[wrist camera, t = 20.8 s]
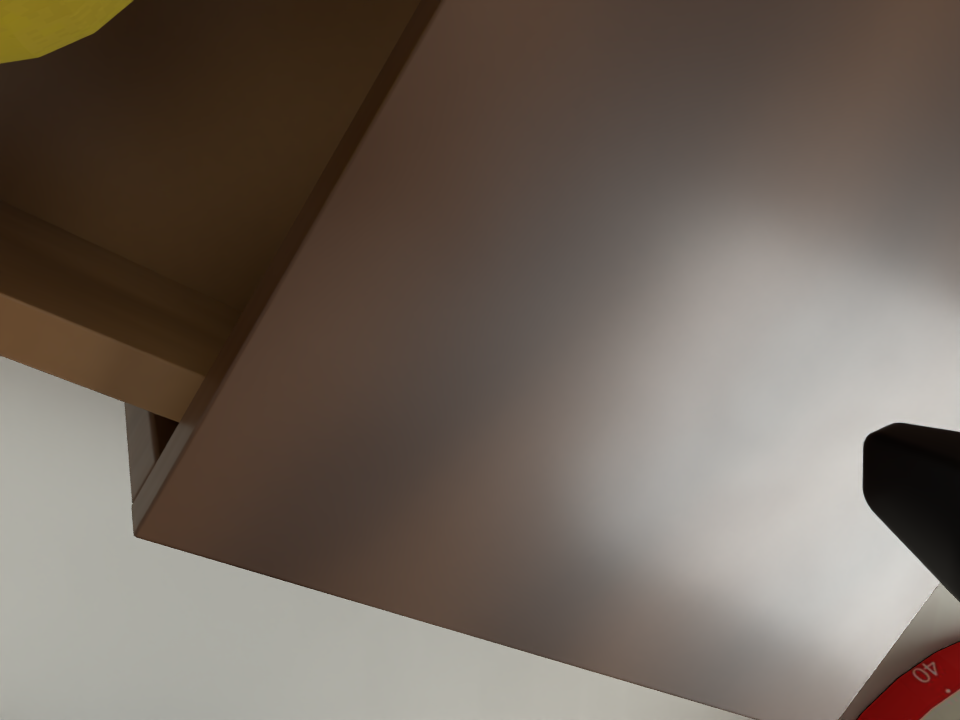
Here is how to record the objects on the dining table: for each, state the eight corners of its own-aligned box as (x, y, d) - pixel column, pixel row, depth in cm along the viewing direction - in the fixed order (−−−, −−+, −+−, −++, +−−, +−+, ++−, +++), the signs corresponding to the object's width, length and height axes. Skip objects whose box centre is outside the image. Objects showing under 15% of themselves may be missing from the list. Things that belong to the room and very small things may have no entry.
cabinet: (117, 337, 18) (132, 537, 12) (457, -279, 16) (699, -450, 10) (646, 555, 27) (824, 740, 20) (908, 170, 25) (1196, 237, 18)
